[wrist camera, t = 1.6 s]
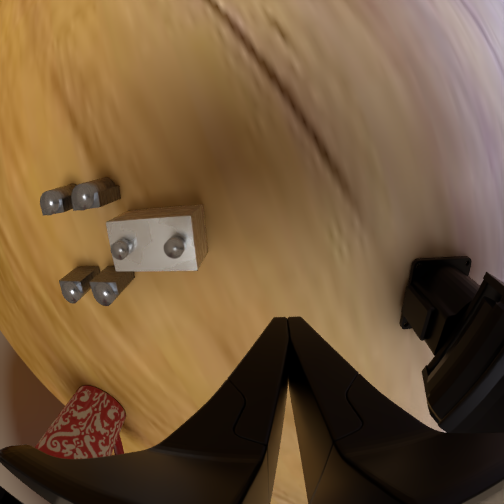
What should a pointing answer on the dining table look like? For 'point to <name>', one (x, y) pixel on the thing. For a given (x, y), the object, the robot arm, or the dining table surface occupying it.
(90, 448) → the mug
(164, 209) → the block with round pegs
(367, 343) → the dining table surface
